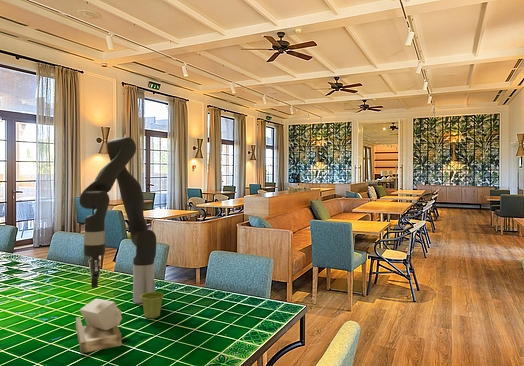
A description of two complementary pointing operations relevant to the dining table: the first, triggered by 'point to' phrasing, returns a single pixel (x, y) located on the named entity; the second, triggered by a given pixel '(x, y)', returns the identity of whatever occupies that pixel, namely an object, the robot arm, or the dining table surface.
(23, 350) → the dining table surface
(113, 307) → the milk carton
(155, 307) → the plant pot
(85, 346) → the u rest
